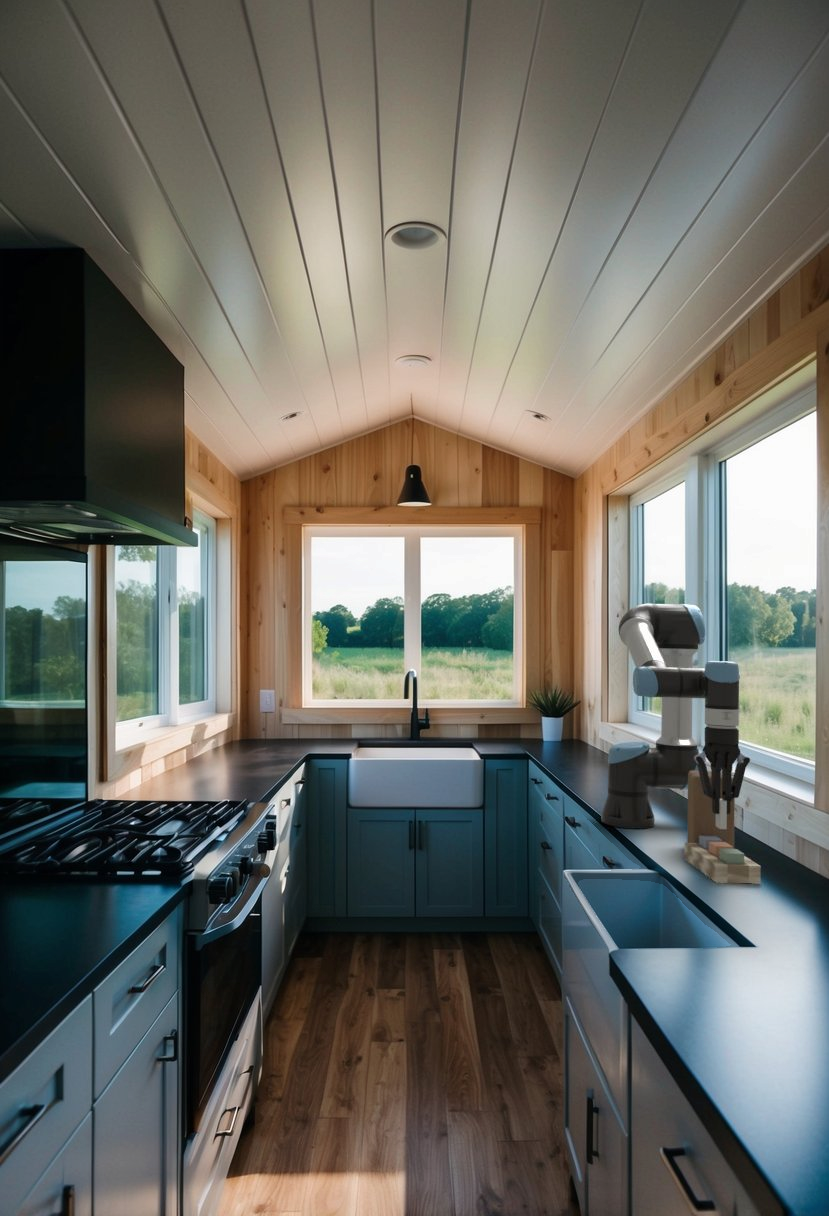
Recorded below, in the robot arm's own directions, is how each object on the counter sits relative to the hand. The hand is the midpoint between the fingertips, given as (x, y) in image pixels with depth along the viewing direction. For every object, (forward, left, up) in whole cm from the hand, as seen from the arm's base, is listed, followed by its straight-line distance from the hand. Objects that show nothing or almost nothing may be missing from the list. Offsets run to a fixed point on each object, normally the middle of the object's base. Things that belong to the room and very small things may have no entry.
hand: (721, 827), depth 183 cm
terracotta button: (0, 0, -8) cm, 8 cm away
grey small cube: (-6, 0, -8) cm, 10 cm away
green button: (+6, 0, -8) cm, 10 cm away
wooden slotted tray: (0, 0, -10) cm, 10 cm away
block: (-16, +4, -10) cm, 20 cm away
